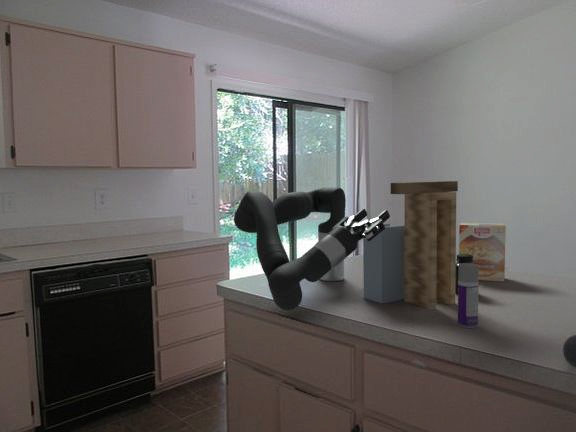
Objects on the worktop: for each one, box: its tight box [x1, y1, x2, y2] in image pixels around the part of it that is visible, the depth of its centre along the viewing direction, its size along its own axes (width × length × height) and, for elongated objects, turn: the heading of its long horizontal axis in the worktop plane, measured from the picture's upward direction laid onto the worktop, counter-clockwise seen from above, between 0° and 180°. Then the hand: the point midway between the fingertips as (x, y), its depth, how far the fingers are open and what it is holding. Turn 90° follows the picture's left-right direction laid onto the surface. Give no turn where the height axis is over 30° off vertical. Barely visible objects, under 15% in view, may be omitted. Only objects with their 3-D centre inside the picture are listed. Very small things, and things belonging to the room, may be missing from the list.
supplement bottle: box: [455, 253, 473, 295], centre depth 141 cm, size 7×7×12 cm
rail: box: [390, 180, 459, 195], centre depth 128 cm, size 4×24×3 cm, turn 123°
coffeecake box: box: [458, 222, 507, 282], centre depth 161 cm, size 15×7×20 cm, turn 68°
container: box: [457, 263, 480, 329], centre depth 111 cm, size 5×5×15 cm
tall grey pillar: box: [362, 222, 405, 305], centre depth 137 cm, size 8×10×22 cm
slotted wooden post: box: [403, 191, 457, 310], centre depth 131 cm, size 10×10×32 cm
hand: (376, 212), depth 119 cm, fingers open, 8 cm apart
